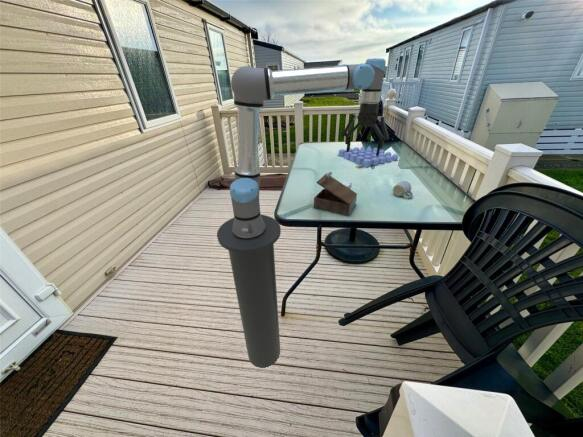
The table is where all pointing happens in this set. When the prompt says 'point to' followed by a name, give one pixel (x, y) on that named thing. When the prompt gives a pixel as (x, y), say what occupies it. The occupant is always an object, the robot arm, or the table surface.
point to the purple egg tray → (367, 156)
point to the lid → (337, 188)
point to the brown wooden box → (332, 203)
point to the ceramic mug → (403, 189)
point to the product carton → (347, 184)
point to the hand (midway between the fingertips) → (362, 153)
